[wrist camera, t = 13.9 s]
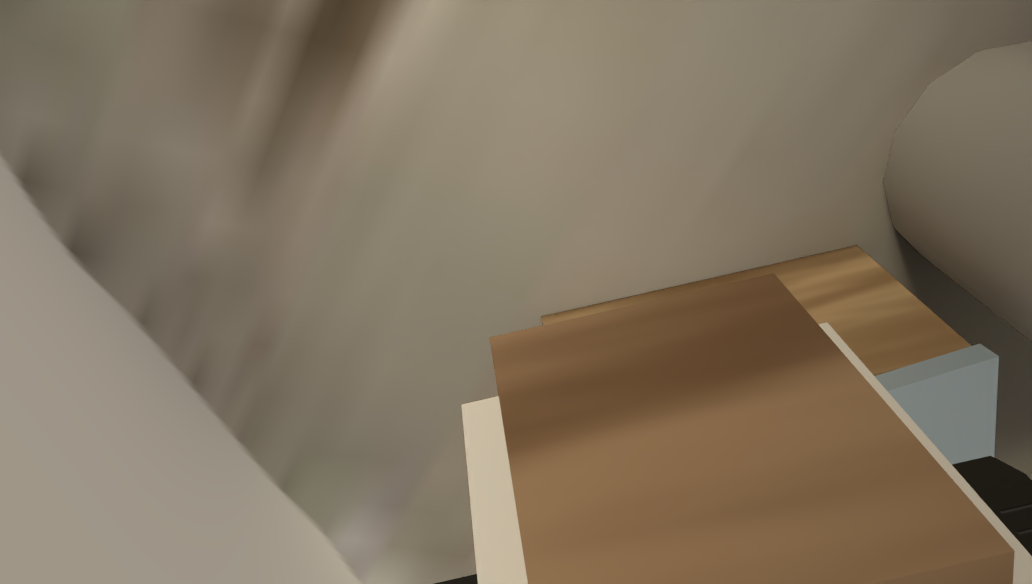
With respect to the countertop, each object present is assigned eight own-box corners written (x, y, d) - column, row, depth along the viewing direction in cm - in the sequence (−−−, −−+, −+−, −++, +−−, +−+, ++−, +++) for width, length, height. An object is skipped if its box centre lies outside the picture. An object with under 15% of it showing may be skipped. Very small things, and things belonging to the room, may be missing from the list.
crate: (540, 316, 34) (576, 441, 27) (857, 245, 34) (977, 350, 27) (606, 625, 41) (647, 790, 34) (867, 566, 41) (964, 717, 34)
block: (489, 337, 16) (540, 659, 9) (774, 273, 16) (1014, 551, 9) (543, 556, 18) (613, 936, 12) (792, 499, 18) (997, 848, 12)
